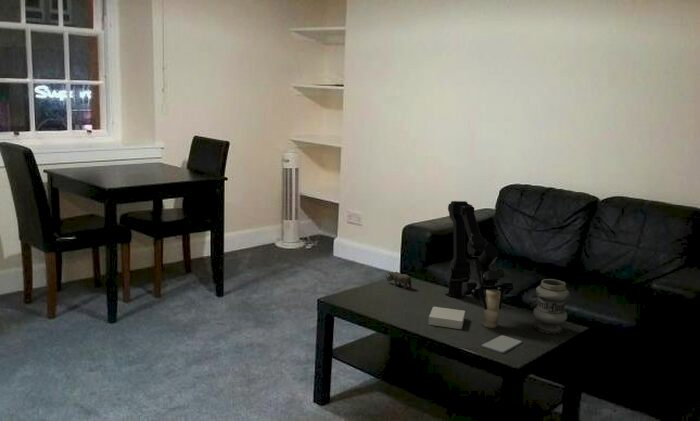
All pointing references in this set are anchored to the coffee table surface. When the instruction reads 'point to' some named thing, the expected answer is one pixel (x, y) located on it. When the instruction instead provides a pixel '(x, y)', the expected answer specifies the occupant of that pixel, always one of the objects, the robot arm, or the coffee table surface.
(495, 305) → the birch pillar
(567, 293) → the apothecary jar
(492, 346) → the smartphone
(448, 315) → the cream plinth
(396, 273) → the rhino figurine
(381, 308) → the coffee table surface
